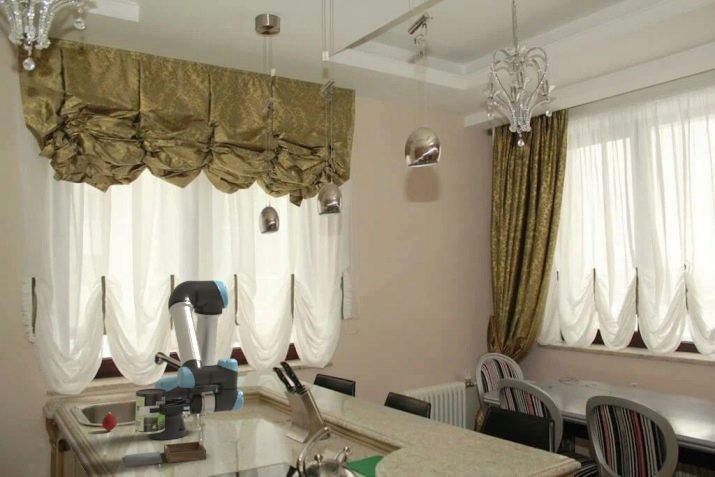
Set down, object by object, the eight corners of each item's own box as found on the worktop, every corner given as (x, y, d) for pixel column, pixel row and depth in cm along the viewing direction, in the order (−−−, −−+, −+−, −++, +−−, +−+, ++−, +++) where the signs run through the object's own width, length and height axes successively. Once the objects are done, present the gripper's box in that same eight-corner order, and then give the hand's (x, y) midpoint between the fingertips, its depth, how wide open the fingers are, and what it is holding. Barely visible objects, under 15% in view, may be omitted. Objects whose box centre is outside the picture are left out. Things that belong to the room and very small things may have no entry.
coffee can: (170, 427, 223) (171, 389, 223) (155, 435, 212) (157, 394, 213) (144, 426, 224) (145, 387, 225) (128, 433, 214) (130, 393, 215)
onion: (118, 429, 260) (119, 410, 260) (113, 433, 254) (114, 413, 254) (104, 429, 259) (105, 410, 260) (99, 433, 254) (100, 413, 254)
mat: (124, 457, 221) (124, 455, 221) (158, 453, 226) (158, 451, 226) (126, 467, 210) (126, 464, 210) (162, 463, 215) (162, 460, 215)
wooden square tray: (163, 452, 227) (164, 444, 227) (200, 449, 232) (200, 441, 232) (168, 462, 215) (168, 454, 215) (206, 458, 220) (206, 450, 220)
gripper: (206, 420, 216) (140, 426, 207) (195, 406, 237) (134, 411, 227) (207, 398, 217) (141, 403, 207) (195, 387, 237) (135, 391, 228)
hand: (138, 407), depth 217 cm, fingers closed on coffee can, 10 cm apart
